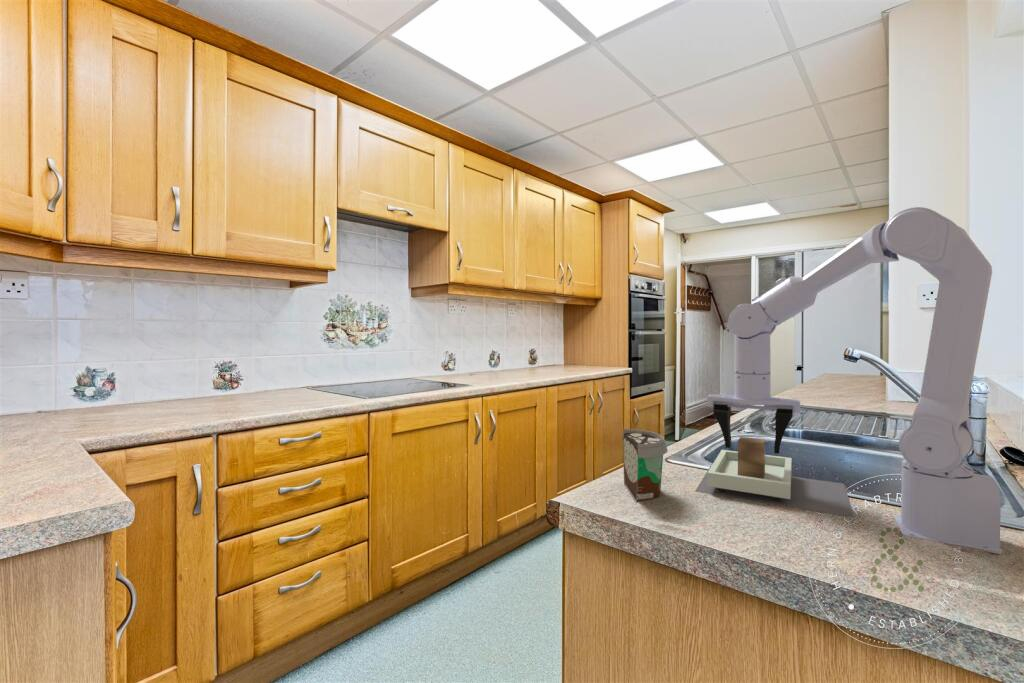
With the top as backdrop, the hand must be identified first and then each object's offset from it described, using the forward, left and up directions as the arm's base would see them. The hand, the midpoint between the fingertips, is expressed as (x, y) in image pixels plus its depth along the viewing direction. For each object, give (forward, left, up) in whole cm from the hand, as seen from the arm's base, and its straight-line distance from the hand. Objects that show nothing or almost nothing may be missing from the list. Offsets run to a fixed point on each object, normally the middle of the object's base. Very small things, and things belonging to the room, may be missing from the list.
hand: (751, 449), depth 82 cm
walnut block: (0, 0, -4) cm, 4 cm away
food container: (+15, +12, -7) cm, 21 cm away
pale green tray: (0, 0, -6) cm, 6 cm away
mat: (-3, 0, -7) cm, 7 cm away
